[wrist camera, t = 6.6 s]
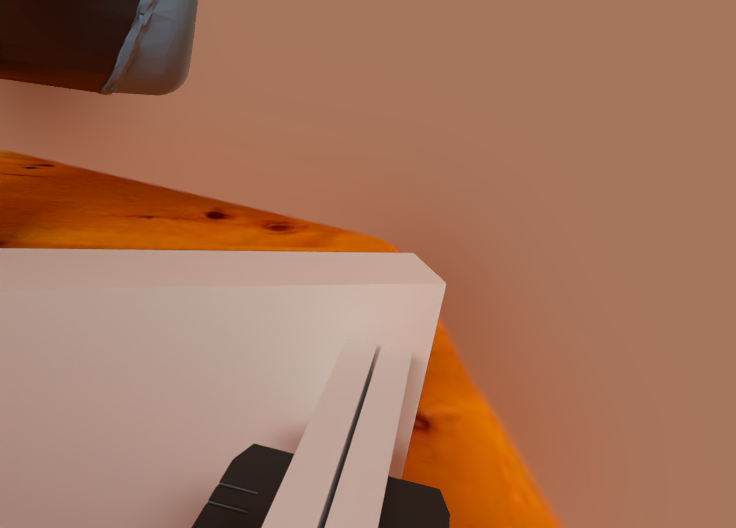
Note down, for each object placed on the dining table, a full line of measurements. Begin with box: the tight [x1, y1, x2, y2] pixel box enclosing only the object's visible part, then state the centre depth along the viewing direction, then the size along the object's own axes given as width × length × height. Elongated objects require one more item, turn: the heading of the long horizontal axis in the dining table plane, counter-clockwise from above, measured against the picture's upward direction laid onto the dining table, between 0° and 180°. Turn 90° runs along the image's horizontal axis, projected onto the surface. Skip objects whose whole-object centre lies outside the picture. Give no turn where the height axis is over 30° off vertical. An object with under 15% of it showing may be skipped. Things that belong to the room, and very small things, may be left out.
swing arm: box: [0, 248, 446, 528], centre depth 12 cm, size 20×2×7 cm, turn 109°
